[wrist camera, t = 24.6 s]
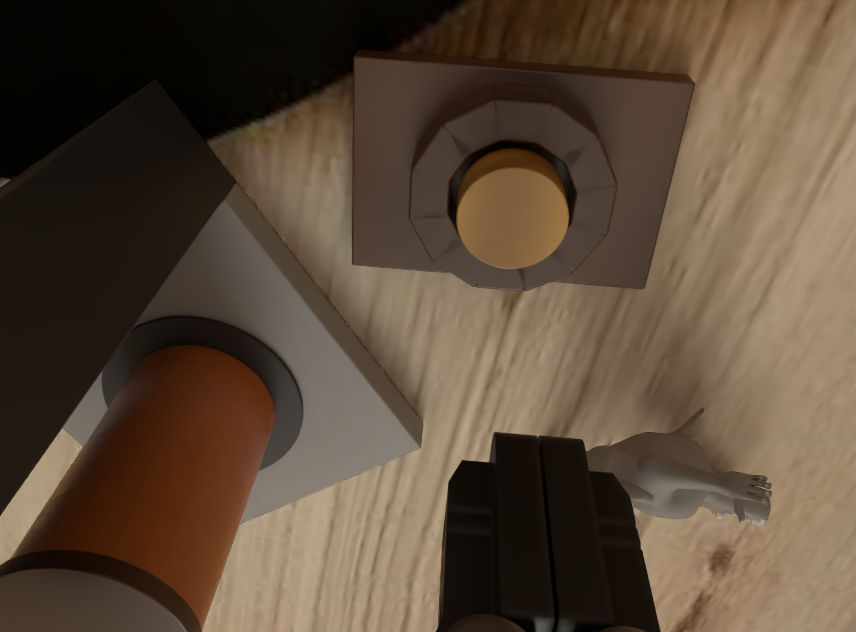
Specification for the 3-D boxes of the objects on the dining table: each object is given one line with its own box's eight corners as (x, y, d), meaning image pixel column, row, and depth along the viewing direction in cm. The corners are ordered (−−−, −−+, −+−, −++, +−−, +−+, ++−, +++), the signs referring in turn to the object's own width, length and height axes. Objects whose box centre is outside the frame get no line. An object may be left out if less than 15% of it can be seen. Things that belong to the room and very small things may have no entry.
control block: (689, 74, 23) (709, 99, 21) (640, 277, 27) (653, 315, 25) (357, 48, 23) (344, 70, 21) (355, 253, 27) (344, 289, 25)
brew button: (572, 151, 22) (577, 172, 21) (555, 249, 24) (559, 274, 23) (462, 142, 22) (460, 162, 21) (453, 241, 24) (452, 265, 23)
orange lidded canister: (277, 347, 27) (183, 579, 19) (284, 470, 31) (207, 715, 22) (110, 332, 27) (-56, 556, 19) (135, 457, 31) (2, 695, 22)
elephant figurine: (629, 549, 34) (479, 517, 29) (652, 418, 36) (511, 366, 31) (863, 611, 26) (709, 583, 21) (882, 438, 27) (741, 373, 22)
